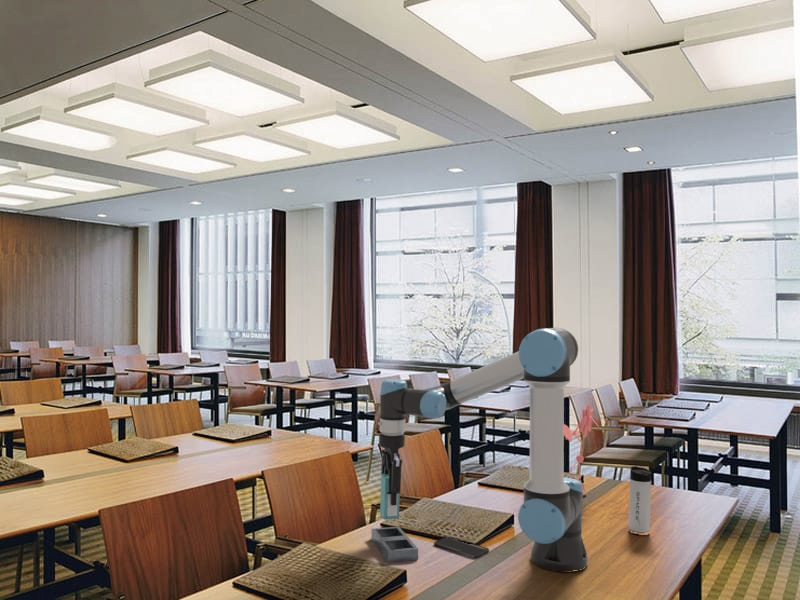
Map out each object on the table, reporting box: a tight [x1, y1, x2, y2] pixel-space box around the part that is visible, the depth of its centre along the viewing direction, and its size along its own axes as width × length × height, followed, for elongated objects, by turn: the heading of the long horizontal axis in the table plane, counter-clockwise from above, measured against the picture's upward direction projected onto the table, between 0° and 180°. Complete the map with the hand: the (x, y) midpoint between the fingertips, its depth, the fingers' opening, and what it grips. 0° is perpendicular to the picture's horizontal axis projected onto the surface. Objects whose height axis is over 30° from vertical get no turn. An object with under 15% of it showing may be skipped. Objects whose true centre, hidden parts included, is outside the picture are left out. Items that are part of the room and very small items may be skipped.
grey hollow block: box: [371, 526, 419, 563], centre depth 190 cm, size 18×8×3 cm, turn 17°
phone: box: [433, 536, 490, 560], centre depth 191 cm, size 8×1×15 cm
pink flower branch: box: [564, 403, 609, 507], centre depth 241 cm, size 15×26×35 cm, turn 145°
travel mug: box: [628, 465, 652, 533], centre depth 209 cm, size 6×7×20 cm
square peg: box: [379, 473, 401, 520], centre depth 194 cm, size 4×4×12 cm
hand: (389, 512), depth 194 cm, fingers closed on square peg, 4 cm apart
